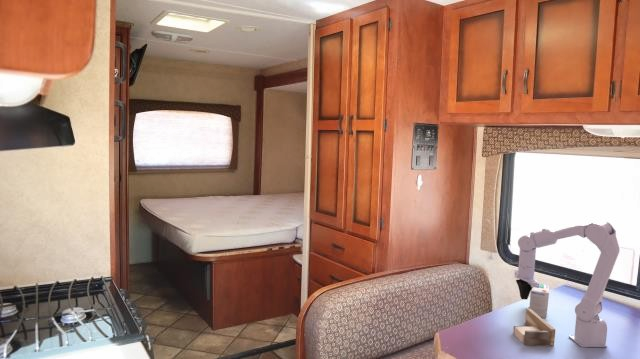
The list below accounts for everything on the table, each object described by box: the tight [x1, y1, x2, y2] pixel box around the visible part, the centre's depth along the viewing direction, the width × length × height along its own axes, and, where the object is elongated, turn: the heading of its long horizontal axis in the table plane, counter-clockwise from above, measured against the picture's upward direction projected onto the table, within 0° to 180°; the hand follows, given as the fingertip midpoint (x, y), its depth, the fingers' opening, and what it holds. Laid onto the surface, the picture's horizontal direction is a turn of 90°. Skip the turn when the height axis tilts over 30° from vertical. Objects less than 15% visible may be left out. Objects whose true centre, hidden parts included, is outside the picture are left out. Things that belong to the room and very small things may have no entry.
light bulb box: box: [528, 283, 550, 319], centre depth 190 cm, size 11×7×11 cm, turn 154°
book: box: [513, 325, 540, 343], centre depth 167 cm, size 8×7×3 cm
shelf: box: [523, 308, 556, 347], centre depth 170 cm, size 10×18×6 cm, turn 2°
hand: (523, 298), depth 180 cm, fingers closed
